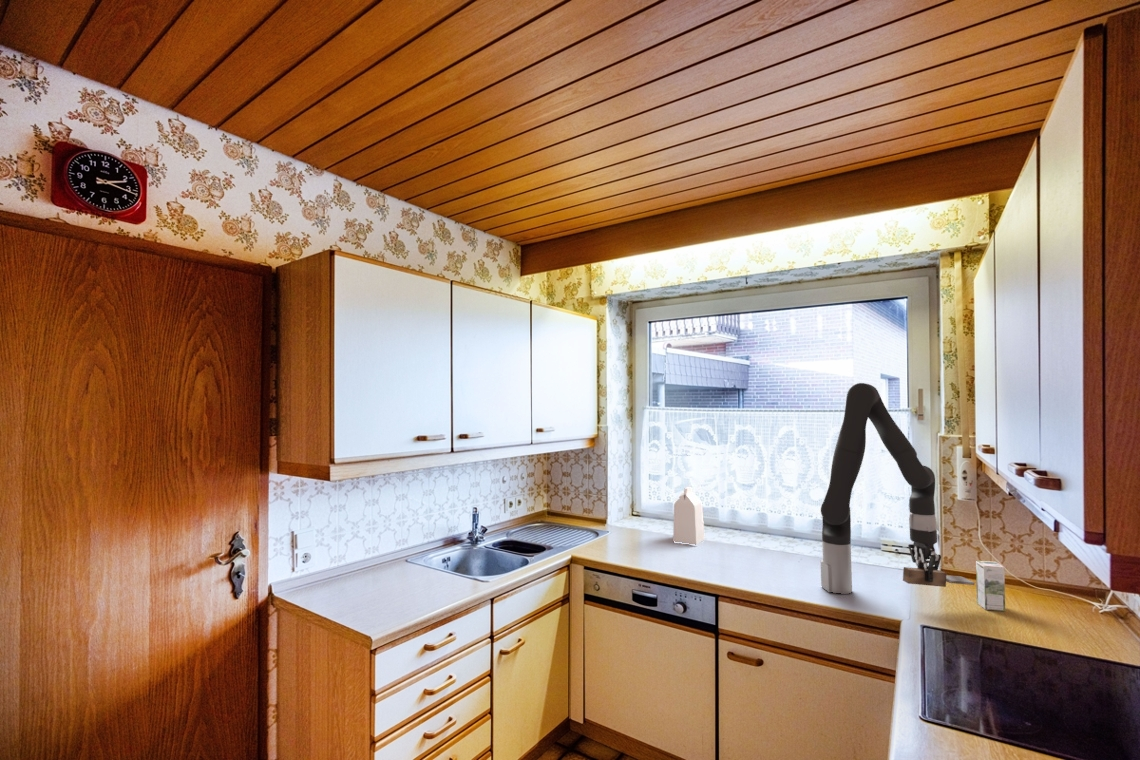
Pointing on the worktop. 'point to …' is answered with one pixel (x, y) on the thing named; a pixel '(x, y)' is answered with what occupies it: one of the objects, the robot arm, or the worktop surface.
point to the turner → (938, 578)
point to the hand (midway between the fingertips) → (925, 579)
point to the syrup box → (990, 585)
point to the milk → (688, 518)
